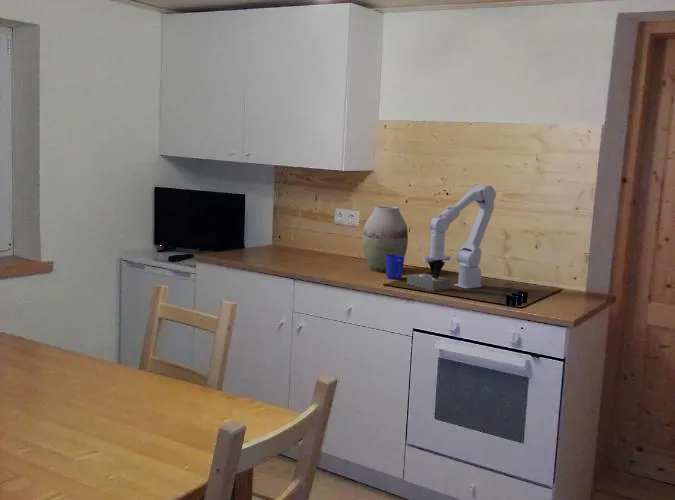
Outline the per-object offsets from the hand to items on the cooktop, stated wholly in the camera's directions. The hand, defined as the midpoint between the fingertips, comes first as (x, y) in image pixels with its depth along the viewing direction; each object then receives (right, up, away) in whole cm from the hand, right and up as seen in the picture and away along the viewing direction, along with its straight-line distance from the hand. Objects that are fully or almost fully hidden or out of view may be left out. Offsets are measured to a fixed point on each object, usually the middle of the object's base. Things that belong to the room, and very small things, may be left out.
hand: (435, 278), depth 305 cm
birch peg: (0, -4, +1) cm, 4 cm away
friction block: (-3, -4, +4) cm, 6 cm away
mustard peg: (-5, -3, +7) cm, 9 cm away
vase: (-19, +2, +41) cm, 45 cm away
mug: (-15, -1, +19) cm, 24 cm away
